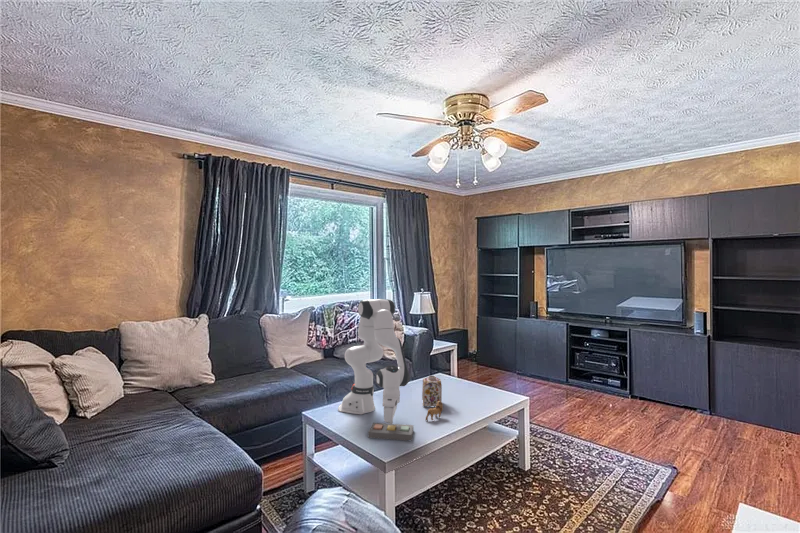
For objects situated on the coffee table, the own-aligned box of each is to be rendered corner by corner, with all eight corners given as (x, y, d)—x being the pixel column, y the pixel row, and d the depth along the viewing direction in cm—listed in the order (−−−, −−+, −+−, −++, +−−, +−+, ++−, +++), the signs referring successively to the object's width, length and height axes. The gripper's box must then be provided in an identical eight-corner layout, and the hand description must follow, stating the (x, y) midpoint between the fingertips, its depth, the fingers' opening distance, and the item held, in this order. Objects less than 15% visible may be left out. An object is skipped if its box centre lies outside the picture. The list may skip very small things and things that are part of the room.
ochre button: (387, 435, 202) (387, 428, 202) (388, 432, 206) (388, 425, 206) (394, 436, 202) (394, 428, 202) (395, 432, 206) (395, 425, 206)
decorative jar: (441, 407, 243) (442, 379, 243) (422, 407, 243) (423, 378, 243) (440, 401, 255) (440, 373, 255) (422, 400, 255) (422, 373, 255)
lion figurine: (437, 414, 232) (437, 399, 232) (445, 416, 229) (445, 401, 229) (423, 421, 221) (423, 406, 221) (430, 424, 218) (431, 408, 218)
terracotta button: (373, 434, 203) (373, 427, 203) (375, 431, 207) (375, 424, 207) (381, 435, 202) (381, 427, 202) (382, 431, 206) (382, 424, 206)
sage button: (400, 436, 201) (400, 429, 201) (401, 433, 205) (401, 425, 205) (408, 436, 201) (408, 429, 201) (408, 433, 205) (409, 426, 205)
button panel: (368, 437, 199) (368, 431, 199) (372, 428, 211) (372, 422, 211) (411, 440, 197) (411, 434, 197) (413, 430, 208) (413, 425, 208)
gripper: (388, 391, 215) (387, 416, 215) (382, 404, 194) (381, 432, 195) (399, 391, 214) (399, 416, 214) (394, 405, 194) (393, 433, 194)
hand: (390, 424), depth 204 cm, fingers closed
